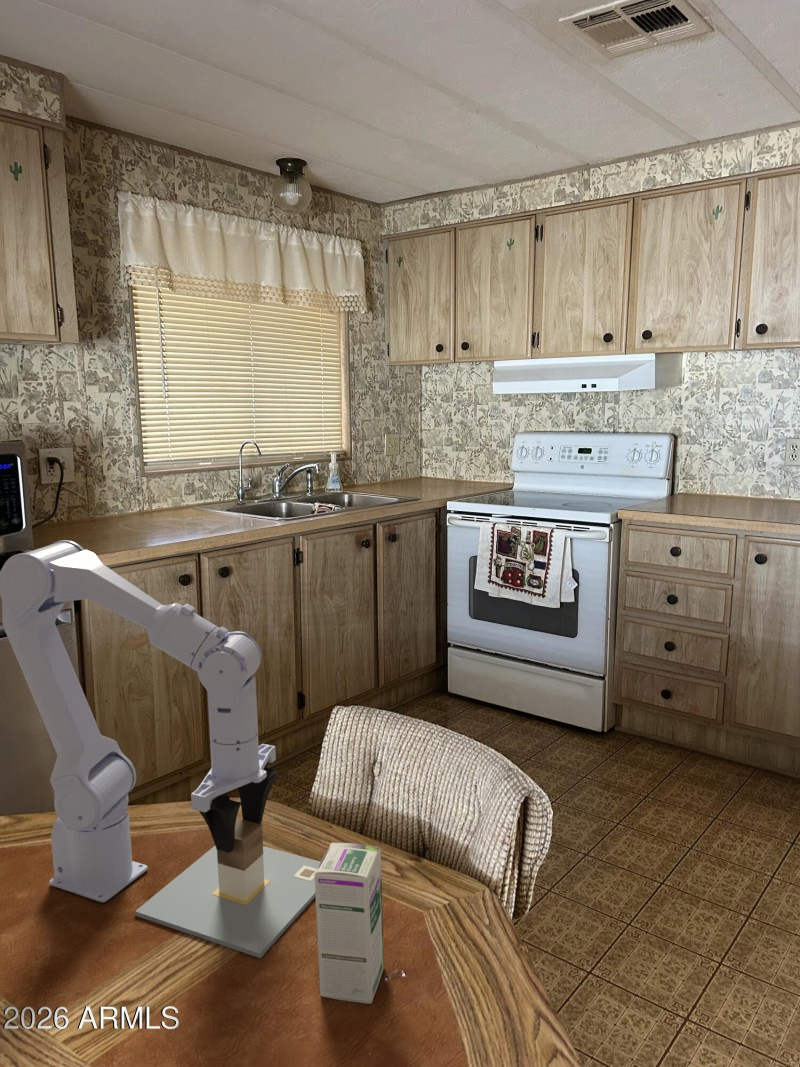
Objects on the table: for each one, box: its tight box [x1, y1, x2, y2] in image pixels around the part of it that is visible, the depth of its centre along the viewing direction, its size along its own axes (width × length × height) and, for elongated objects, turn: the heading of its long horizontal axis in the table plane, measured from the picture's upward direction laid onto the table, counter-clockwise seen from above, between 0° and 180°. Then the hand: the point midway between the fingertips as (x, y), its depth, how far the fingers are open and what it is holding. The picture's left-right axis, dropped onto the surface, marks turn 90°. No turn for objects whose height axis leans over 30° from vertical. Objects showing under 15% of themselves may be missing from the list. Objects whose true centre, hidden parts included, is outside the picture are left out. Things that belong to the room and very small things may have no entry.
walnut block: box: [217, 817, 264, 871], centre depth 99 cm, size 4×4×4 cm
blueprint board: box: [134, 845, 321, 959], centre depth 100 cm, size 18×18×1 cm
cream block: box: [218, 855, 264, 901], centre depth 100 cm, size 4×4×4 cm
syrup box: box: [314, 842, 385, 1005], centre depth 84 cm, size 6×6×14 cm
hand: (238, 837), depth 99 cm, fingers open, 5 cm apart
